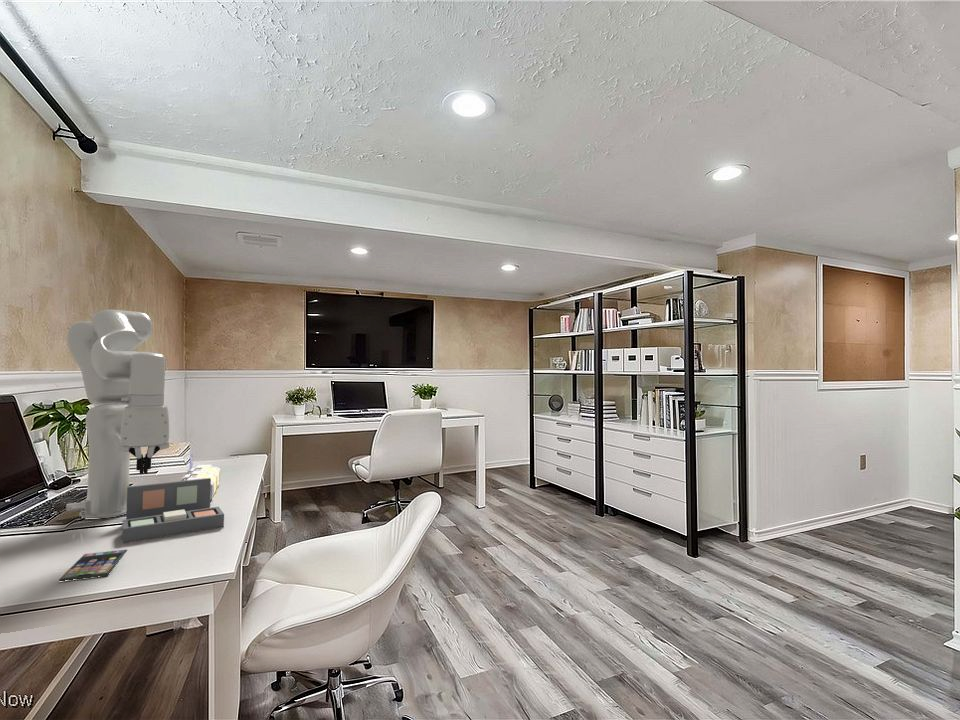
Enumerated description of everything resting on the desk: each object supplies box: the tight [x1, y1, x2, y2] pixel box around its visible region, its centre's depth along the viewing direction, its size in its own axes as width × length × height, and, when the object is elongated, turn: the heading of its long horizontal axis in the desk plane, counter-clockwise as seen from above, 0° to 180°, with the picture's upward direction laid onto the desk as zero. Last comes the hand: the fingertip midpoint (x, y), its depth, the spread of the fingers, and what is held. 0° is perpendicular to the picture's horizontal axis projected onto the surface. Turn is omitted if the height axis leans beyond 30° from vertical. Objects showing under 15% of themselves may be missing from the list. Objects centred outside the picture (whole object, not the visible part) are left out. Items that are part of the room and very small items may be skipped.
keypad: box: [121, 478, 225, 544], centre depth 132 cm, size 22×19×10 cm
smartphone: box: [58, 549, 128, 582], centre depth 105 cm, size 8×15×1 cm, turn 24°
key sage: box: [130, 519, 154, 527], centre depth 123 cm, size 5×5×2 cm
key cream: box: [163, 510, 187, 522], centre depth 128 cm, size 5×5×2 cm
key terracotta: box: [193, 510, 216, 518], centre depth 132 cm, size 5×5×2 cm
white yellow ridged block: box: [179, 451, 221, 501], centre depth 162 cm, size 25×10×13 cm, turn 23°
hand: (143, 472), depth 124 cm, fingers closed
